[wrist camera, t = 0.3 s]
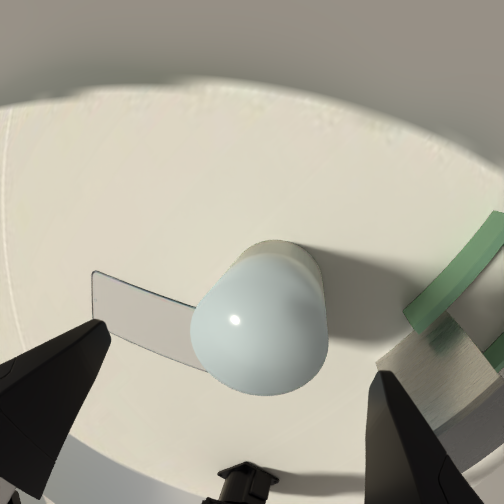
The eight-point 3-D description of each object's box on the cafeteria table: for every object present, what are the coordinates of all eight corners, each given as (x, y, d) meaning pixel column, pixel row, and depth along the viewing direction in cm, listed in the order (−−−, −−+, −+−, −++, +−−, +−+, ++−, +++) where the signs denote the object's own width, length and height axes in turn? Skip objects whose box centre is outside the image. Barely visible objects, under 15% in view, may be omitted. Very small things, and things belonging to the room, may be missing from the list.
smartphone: (212, 374, 27) (92, 324, 29) (214, 371, 28) (95, 322, 29) (225, 317, 25) (91, 269, 27) (226, 314, 26) (94, 267, 27)
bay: (460, 381, 22) (470, 398, 19) (402, 311, 22) (412, 327, 19) (536, 300, 18) (550, 311, 16) (493, 210, 18) (512, 215, 15)
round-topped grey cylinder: (277, 341, 25) (260, 412, 16) (213, 284, 25) (166, 337, 16) (341, 285, 22) (357, 345, 14) (273, 219, 22) (250, 246, 14)
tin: (415, 400, 24) (441, 485, 13) (374, 362, 24) (397, 461, 12) (474, 350, 21) (524, 424, 10) (441, 303, 21) (505, 381, 10)
